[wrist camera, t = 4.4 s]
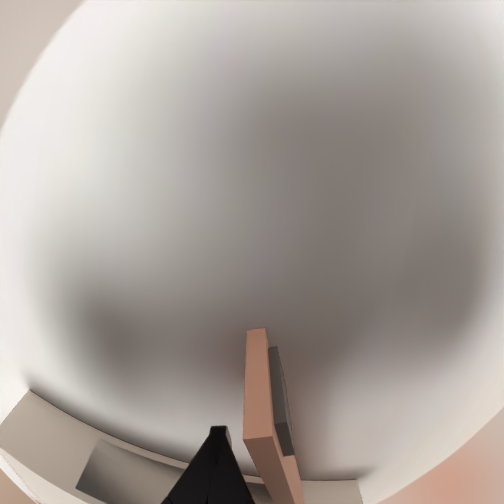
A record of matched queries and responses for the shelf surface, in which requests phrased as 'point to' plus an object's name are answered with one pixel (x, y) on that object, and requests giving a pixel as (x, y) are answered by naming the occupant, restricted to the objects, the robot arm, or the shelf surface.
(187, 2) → the shelf surface
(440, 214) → the shelf surface
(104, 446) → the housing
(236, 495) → the robot arm
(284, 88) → the shelf surface
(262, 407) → the side door
